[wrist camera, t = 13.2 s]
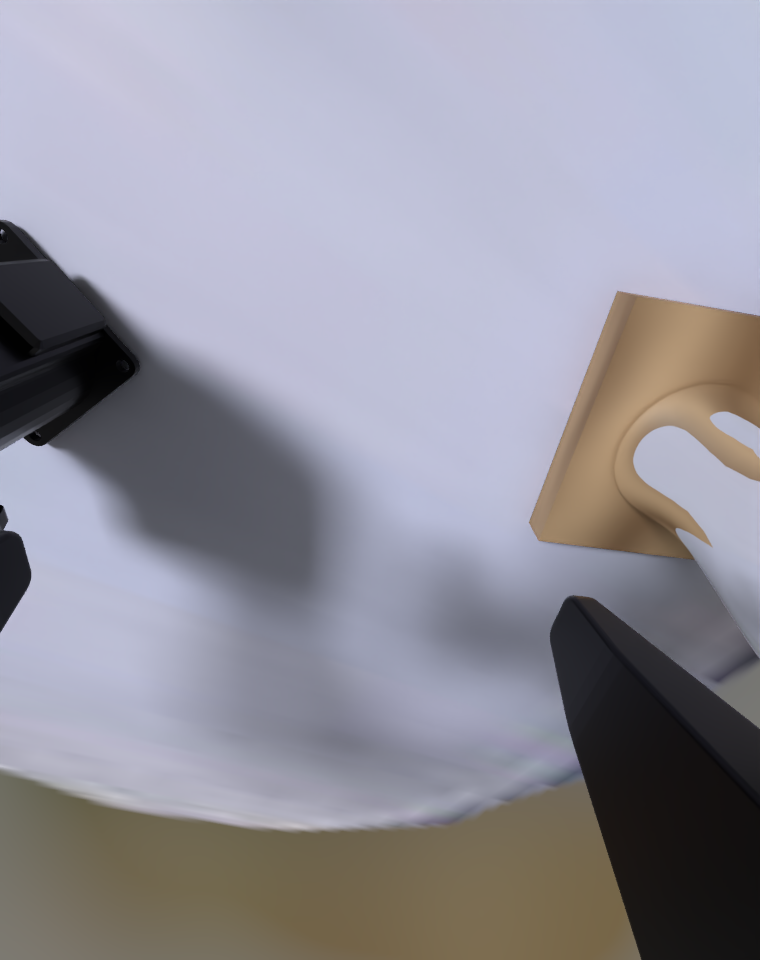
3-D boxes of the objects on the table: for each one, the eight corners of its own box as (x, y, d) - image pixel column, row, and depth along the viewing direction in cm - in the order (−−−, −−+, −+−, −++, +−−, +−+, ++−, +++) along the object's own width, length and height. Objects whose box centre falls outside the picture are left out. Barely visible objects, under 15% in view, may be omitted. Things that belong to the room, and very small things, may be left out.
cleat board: (529, 522, 23) (592, 643, 16) (617, 291, 17) (766, 328, 11) (720, 546, 24) (856, 670, 17) (859, 333, 18) (1134, 391, 12)
